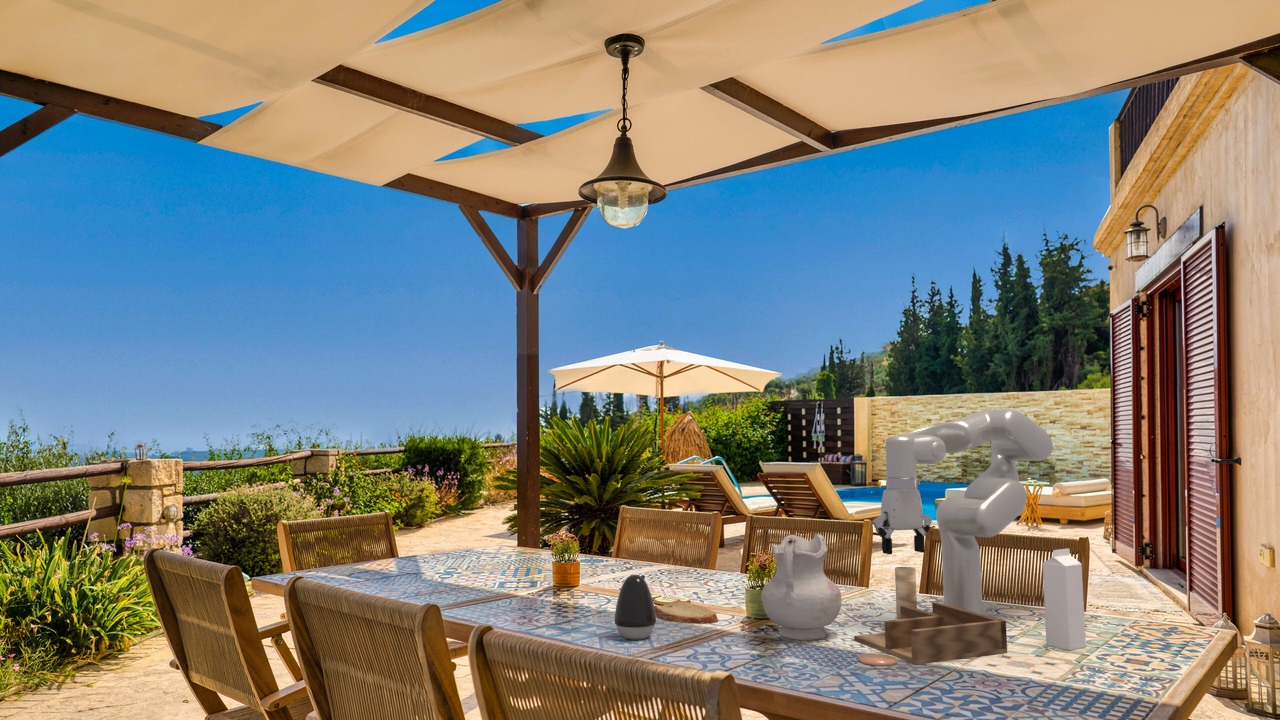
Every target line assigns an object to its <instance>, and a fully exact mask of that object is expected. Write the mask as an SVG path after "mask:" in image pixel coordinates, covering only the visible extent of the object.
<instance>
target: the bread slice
mask: <svg viewBox="0 0 1280 720" xmlns="http://www.w3.org/2000/svg"><path fill="white" fill-rule="evenodd" d="M654 608H655V615H656V619H659V620H662V621H666V622H667V621H668V622H674V623H679V624H680V623H681V624H696V625H699V624H700V625H702V624H703V625H704V624H708V625H709V624H717V623H718V622H719V621H720V620H719V619H718V616H717V613H716V611H714V610H713V609H711V608H707V607H705V606H702V605H699V604H695V603H692V602H691V603H690V602H689V601H688V602H686V601H684V600H681V599H677V600H673V601H669V602H668V603H666V604H663V605H661V606H659V605H654Z"/></svg>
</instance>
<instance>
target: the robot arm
mask: <svg viewBox="0 0 1280 720" xmlns="http://www.w3.org/2000/svg"><path fill="white" fill-rule="evenodd" d="M990 442H991V444H990V453H991V457H990V458H991V461H990V465H989V466H988V467H987V469H986V470H985V471H983V472H982V473H981V474H980V475H979V476H978V477H977V478H975V479H974V480H973V481H972V482H970V483H969V485H968V486H967V488H966V489H965V491H964V496H963V497H949V498H946V499H944V500H942V501H941V502H940V503H939V505H938V506H937V509H936V522H937V526H938V531H939V536H940V543H941V557H942V559H941V560H942V562H941V563H942V583H943V584H942V585H943V587H942V589H943V604H946V605H949V606H953V607H957V608H960V609H964V610H967V611H971V612H975V613H978V614H982V615H986V616H989V617H990V615H989V614H988V613H987V612H988V611H995V610H997V609H998V604H997V603H996V602H994V601H993V602H992V601H991V602H986V601H984V600H983V591H982V587H983V586H982V569H981V567H982V566H981V565H982V564H981V551H980V547H979V544H978V542H977V539H976V538H975V537H979V538H992V537H995V536H998V535H999V534H1000V533H1002V531H1003V530H1004V529H1006V528H1007V527H1008V526H1009V525H1010V524H1011V523H1012V522H1013V521H1014V520H1016V518H1017V517H1018V516H1019V515H1021V513H1022V512H1023V511H1024V509H1025V507H1026V503H1027V498H1028V496H1027V495H1028V494H1027V490H1026V488H1025V487H1024V484H1022V483H1021V482H1020V476H1019V475H1020V474H1019V473H1018V469H1017V465H1016V461H1022V462H1023V461H1027V462H1028V461H1029V462H1032V461H1033V462H1040V461H1044V460H1046V459H1048V458H1049V457H1050V456H1051V454H1052V452H1053V447H1054V445H1053V440H1052V438H1051V436H1050V435H1049V433H1048V432H1047V431H1046V430H1045V429H1044V428H1042V427H1041V426H1040V425H1038V424H1037V423H1036V422H1034V421H1033V420H1032V419H1030V418H1029V417H1028V416H1027V415H1025V414H1023V413H1022V412H1021V411H1018V410H1016V409H1012V408H1009V409H1007V408H1004V409H985V410H979V411H978V412H974V413H972V414H969V415H967V416H964V417H961V418H959V419H955V420H952V421H951V420H950V421H947V422H943V423H940V424H935V425H932V426H931V425H930V426H927V427H923V428H922V427H921V428H918V429H915V430H912V431H909V432H907V433H904V434H901V435H899V436H895V435H894V436H889V437H887V438H886V440H885V473H886V475H885V478H886V479H885V480H886V489H883V492H882V493H883V494H882V498H881V504H880V505H881V506H880V515H878V516H877V517H876V518H874V519H873V520H872V525H873V527H874V528H875V532H876V533H877V534H878V535H879V537H880V538H881V549H882V553H883V554H884V555H885V554H886V555H892V554H893V539H892V538H891V536H892V534H893V533H894V531H909V530H910V531H911V530H913V533H915V535H914V536H913V545H914V547H913V548H914V549H913V550H914V551H915V552H917V553H925V537H927V533H928V532H929V530H930V528H931V524H932V522H933V518H932V517H930V516H929V515H927V514H924V511H923V505H922V498H921V493H920V490H918V486H920V485H921V481H920V479H918V473H917V472H918V471H917V469H918V468H917V467H918V466H917V465H937V464H938V463H940V462H942V461H943V460H944V458H945V457H946V454H952V453H953V454H954V453H960V452H966V451H970V450H972V449H974V448H976V447H979V446H981V445H984V444H987V443H990Z"/></svg>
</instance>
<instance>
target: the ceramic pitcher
mask: <svg viewBox="0 0 1280 720" xmlns="http://www.w3.org/2000/svg"><path fill="white" fill-rule="evenodd" d="M813 536H814V537H813V538H812V539H810V540H808V539H806V538H804V537H803V536H797V535H795V534H789V535H786V536H785V537H784V538H783V539H782V541H781V543H780V544H779V545H778V544H772V546H771V551H772V552H771V553H772V554H773V556H774V559H775V561H776V573H775V575H774V576H773V577H772V578H771V579H770V580H769V581H768V582H766V584H765V585H764V587H763V588H762V591H761V594H760V595H761V603H762V607H763V609H764V612H765V614H766V616H767V617H768V618H769V620H770V621H771V622H772V623H774V624H776V625H778V626H781V627H782V628H781V629H779V632H778V633H777V634H778V635H780V636H782V637H783V638H785V639H788V640H796V641H797V640H798V641H812V640H823V639H824V638H825V637H826V636H827V633H826V631H825V629H824V628H825V627H827V626H830V625H831V624H832V623H834V621H836V619H837V618H838V616H839V614H840V612H841V608H842V593H841V589H840V588H839V586H838V585H837V584H836V583H835V582H833V581H832V580H831V579H829V577H827V575H826V574H825V572H824V571H825V570H824V564H825V560H826V556H827V553H828V550H829V549H828V546H827V542H826V537H824V536H823V534H820V533H816V532H814V534H813Z"/></svg>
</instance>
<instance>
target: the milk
mask: <svg viewBox="0 0 1280 720" xmlns="http://www.w3.org/2000/svg"><path fill="white" fill-rule="evenodd" d="M1070 550H1071V549H1070V548H1068V547H1067V548H1062V549H1061V548H1060V549H1053V551H1052V557H1051V558H1049V559H1047V560H1045V561H1043V562H1042V577H1043V578H1042V580H1043V582H1042V583H1043V600H1044V622H1045V638H1046V639H1045V640H1046V641H1045V642H1046V643H1045V645H1046V646H1049V647H1052V648H1057V649H1061V650H1065V651H1074V650H1079V649H1084V648H1086V647H1087V645H1086V644H1087V643H1086V640H1087V639H1086V625H1085V621H1086V620H1085V606H1084V605H1085V604H1084V586H1083V585H1084V583H1083V567H1082V566H1083V565H1082V563H1081V562H1080V561H1078V560H1077V559H1076V558H1074V557H1073V556H1072V555H1071V553H1070Z"/></svg>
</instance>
